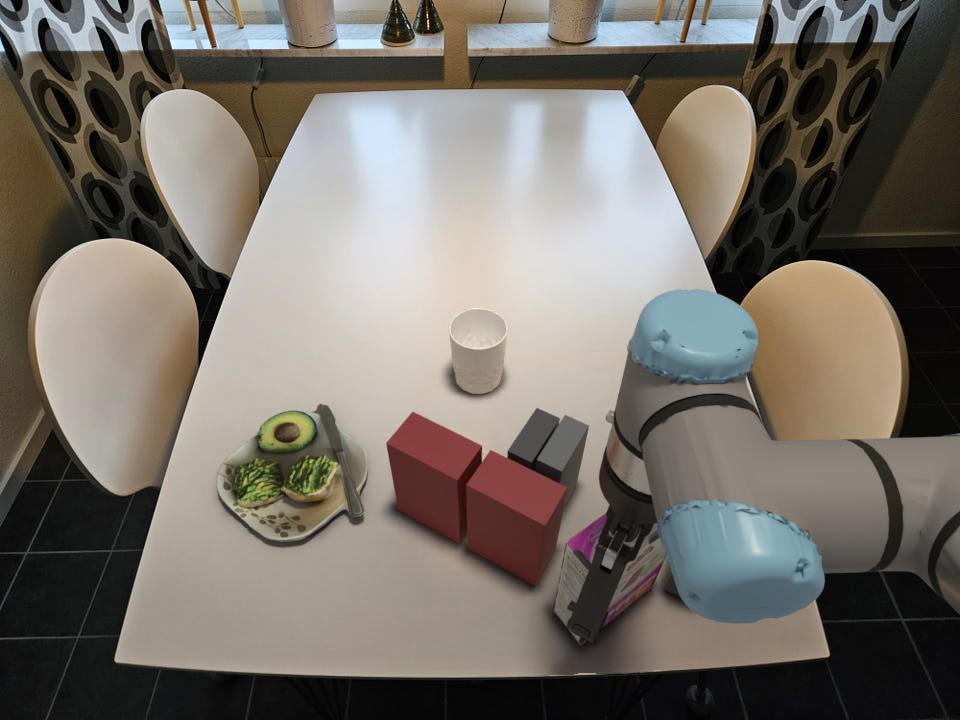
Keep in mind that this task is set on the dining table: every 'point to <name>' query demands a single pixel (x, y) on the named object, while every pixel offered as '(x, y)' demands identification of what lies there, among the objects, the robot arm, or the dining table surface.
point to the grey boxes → (557, 454)
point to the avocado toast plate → (294, 475)
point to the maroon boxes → (476, 496)
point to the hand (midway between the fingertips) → (611, 577)
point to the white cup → (478, 349)
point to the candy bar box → (632, 582)
